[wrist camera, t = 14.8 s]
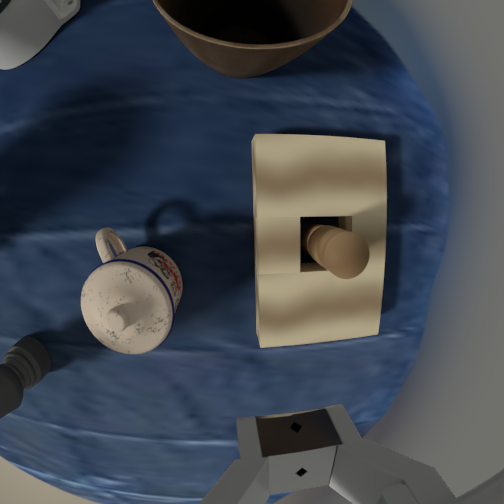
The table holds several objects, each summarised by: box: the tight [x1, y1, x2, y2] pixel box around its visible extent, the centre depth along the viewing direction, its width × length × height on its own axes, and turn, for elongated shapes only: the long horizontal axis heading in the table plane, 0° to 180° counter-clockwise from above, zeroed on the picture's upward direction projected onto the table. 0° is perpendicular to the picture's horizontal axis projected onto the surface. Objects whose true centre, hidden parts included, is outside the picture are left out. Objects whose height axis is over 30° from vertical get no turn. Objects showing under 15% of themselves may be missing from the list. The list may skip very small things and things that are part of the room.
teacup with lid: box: [81, 228, 183, 354], centre depth 28 cm, size 12×9×12 cm
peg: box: [300, 223, 370, 279], centre depth 30 cm, size 4×4×10 cm
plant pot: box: [153, 0, 353, 78], centre depth 23 cm, size 15×15×16 cm
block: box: [252, 134, 387, 348], centre depth 33 cm, size 22×14×4 cm, turn 2°
